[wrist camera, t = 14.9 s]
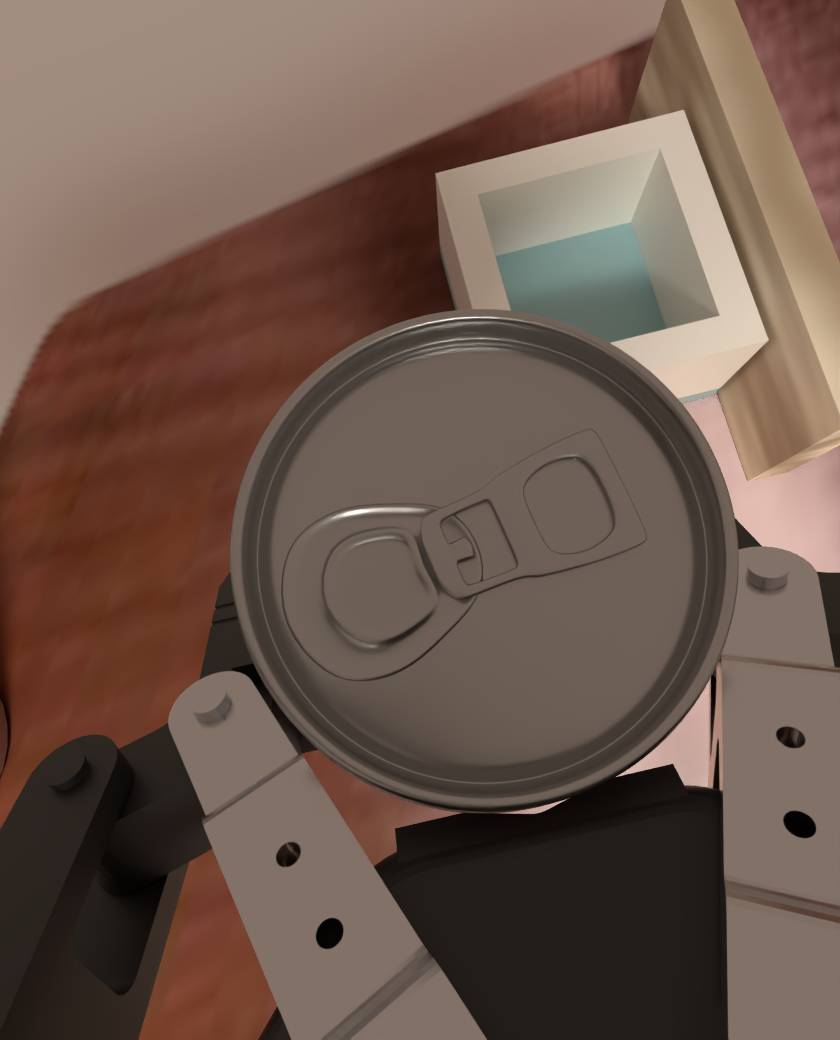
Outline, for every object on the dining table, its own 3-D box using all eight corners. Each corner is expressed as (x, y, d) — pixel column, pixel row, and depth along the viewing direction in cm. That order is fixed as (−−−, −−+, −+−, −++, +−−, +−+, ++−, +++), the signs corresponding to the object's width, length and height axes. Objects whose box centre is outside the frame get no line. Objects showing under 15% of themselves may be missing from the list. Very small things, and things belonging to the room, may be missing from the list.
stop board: (747, 481, 31) (844, 427, 23) (625, 128, 35) (672, -22, 27) (789, 471, 31) (900, 413, 23) (662, 119, 35) (720, -34, 27)
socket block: (492, 449, 32) (499, 406, 26) (440, 253, 34) (435, 173, 28) (712, 395, 32) (768, 340, 26) (645, 202, 34) (683, 109, 28)
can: (323, 546, 19) (118, 398, 8) (521, 463, 20) (619, 193, 8) (404, 756, 18) (309, 964, 6) (615, 666, 18) (899, 709, 7)
